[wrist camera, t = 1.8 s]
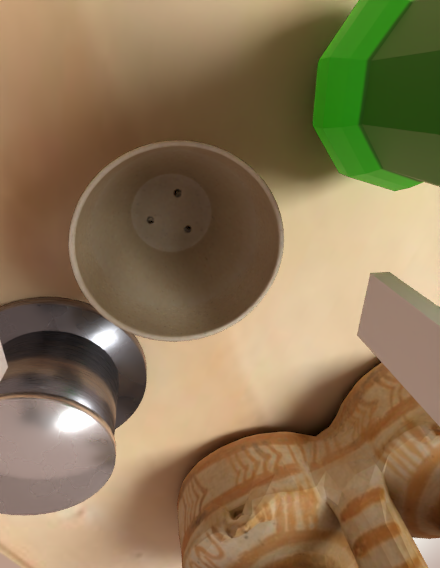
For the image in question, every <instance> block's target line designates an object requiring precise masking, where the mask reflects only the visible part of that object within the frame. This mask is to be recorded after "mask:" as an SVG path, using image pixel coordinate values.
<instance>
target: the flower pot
mask: <svg viewBox="0 0 440 568" xmlns="http://www.w3.org/2000/svg"><path fill="white" fill-rule="evenodd" d="M175 190H177V194H176V195H174V192H175ZM150 220H151V221H153V222H152V223H149V221H150ZM187 226H190V227H191V229H188V228H187ZM283 247H284V230H283V224H282V219H281V214H280V211H279V208H278V205H277V203H276V200H275V198H274V196H273V194H272V192H271V190H270V189H269V188H268V186H267V184H266V183H265V182H264V180H263V179H262V178H261V177H260V176H259V175H258V174H257V173H256V172H255V171H254V170H253V169H252V168H251V167H250V166H249V165H248V164H246V163H245V162H244V161H243V160H241V159H240V158H238V157H237V156H235V155H233V154H231V153H230V152H228V151H225V150H223V149H221V148H218V147H215V146H212V145H209V144H205V143H201V142H195V141H184V140H178V141H162V142H156V143H152V144H148V145H144V146H141V147H138V148H136V149H134V150H131V151H129V152H127V153H125V154H123V155H122V156H120V157H118V158H117V159H115V160H114V161H112V162H111V163H109V164H108V165H107V166H105V167H104V168H103V169H102V170H101V171H100V172H99V173H98V174H97V175H96V176H95V177H94V178H93V180H92V181H91V182H90V183H89V185H88V186H87V187H86V189H85V190H84V192H83V193H82V195H81V197H80V199H79V201H78V203H77V205H76V208H75V210H74V213H73V216H72V220H71V224H70V230H69V257H70V262H71V267H72V270H73V273H74V276H75V279H76V281H77V283H78V285H79V287H80V289H81V291H82V293H83V294H84V296H85V297H86V299H87V300H88V301H89V303H90V304H91V305H92V306H93V307H94V308H95V309H96V310H97V311H98V312H99V313H100V314H101V315H102V316H103V317H104V318H106V319H107V320H108V321H110V322H111V323H113V324H114V325H116V326H117V327H119V328H121V329H123V330H125V331H127V332H130V333H132V334H134V335H137V336H141V337H144V338H148V339H152V340H159V341H169V342H178V341H189V340H196V339H200V338H204V337H208V336H211V335H213V334H216V333H218V332H221V331H223V330H225V329H227V328H229V327H231V326H233V325H234V324H236V323H237V322H239V321H240V320H242V319H243V318H244V317H245V316H247V315H248V314H249V313H250V312H251V311H252V310H253V309H254V308H255V307H256V306H257V305H258V304H259V303H260V302H261V300H262V299H263V298H264V296H265V295H266V294H267V292H268V291H269V289H270V287H271V285H272V284H273V282H274V280H275V277H276V275H277V273H278V270H279V267H280V264H281V260H282V255H283Z"/></svg>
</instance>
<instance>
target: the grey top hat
mask: <svg viewBox="0 0 440 568" xmlns="http://www.w3.org/2000/svg"><path fill="white" fill-rule="evenodd" d="M0 341H1V345H2V348H3V351H4V355H5V358H6V362H7V365H8V368H7V370H6V372H5V374H4V376H3V378H2V379H1V381H0V513H1V514H9V515H38V514H46V513H51V512H56V511H60V510H63V509H66V508H69V507H72V506H74V505H77V504H79V503H81V502H83V501H85V500H86V499H88V498H90V497H91V496H92V495H94V494H95V493H96V492H98V491H99V490H100V489H101V488H102V487H103V486H104V485H105V483H106V482H107V481H108V479H109V478H110V476H111V474H112V472H113V469H114V465H115V458H116V442H115V438H114V432H115V429H116V428H118V427H119V426H120V425H122V424H123V423H124V422H125V421H127V420H128V418H129V417H130V416H131V415H132V414H133V413H134V412H135V410H136V409H137V408H138V406H139V404H140V402H141V400H142V398H143V395H144V392H145V388H146V360H145V355H144V353H143V350H142V347H141V345H140V343H139V342H138V340H137V338H136V337H135V336H134V334H132V333H130V332H127V331H125V330H123V329H121V328H119V327H117V326H116V325H114V324H113V323H111V322H110V321H108V320H107V319H106V318H104V317H103V316H102V315H101V314H100V313H99V312H98V311H97V310H96V309H95V308H94V307H93V306H92V305H91V304H88V303H84V302H81V301H77V300H72V299H67V298H57V297H38V298H30V299H24V300H20V301H15V302H12V303H9V304H6V305H4V306H1V307H0Z"/></svg>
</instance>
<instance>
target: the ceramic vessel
mask: <svg viewBox="0 0 440 568" xmlns="http://www.w3.org/2000/svg"><path fill="white" fill-rule="evenodd" d="M177 508H178V527H179V539H180V545H181V552H182V568H428V566H427V564H426V563H425V561H424V559H423V557H422V555H421V553H420V551H419V550H418V548H417V546H416V544H415V542H414V540H413V538H412V537H414V538H415V537H416V538H428V539H431V538H440V427H439V425H438V424H437V423H436V422H435V421H434V420H433V419H432V418H431V417H430V415H429V414H428V413H427V412H426V411H425V410H424V409H423V408H422V407H421V405H420V404H419V403H418V402H417V401H416V400H415V399H414V398H413V397H412V395H411V394H410V393H409V392H408V391H407V390H406V389H405V388H404V387H403V385H402V384H401V383H400V382H399V381H398V380H397V379H396V378H395V377H394V375H393V374H392V373H391V372H390V371H389V370H388V369H387V368H386V367H385V366H384V364H383V363H380V364H379V365H377V366H376V367H374V368H373V369H372V370H371V371H369V372H368V373H367V374H365V375H364V376H363V377H362V378H361V379H360V380H359V381H358V382H357V383H356V384H355V385H354V387H353V388H352V390H351V391H350V392H349V394H348V395H347V397H346V398H345V399H344V401H343V402H342V404H341V406H340V408H339V411H338V413H337V415H336V417H335V418H334V420H333V422H332V423H331V425H330V426H329V427H328V428H327V429H325V430H324V431H322V432H321V433H320V434H318V435H317V436H311V435H305V434H299V433H294V432H272V433H263V434H256V435H252V436H248V437H244V438H241V439H239V440H237V441H234V442H232V443H230V444H227V445H225V446H223V447H221V448H219V449H217V450H216V451H214V452H212V453H210V454H209V455H208V456H206V457H205V458H203V459H202V460H200V461H199V462H198V463H197V464H196V465H195V466H194V467H193V469H192V470H191V471H190V472H189V474H188V475H187V476H186V478H185V479H184V481H183V483H182V486H181V490H180V493H179V496H178V503H177Z"/></svg>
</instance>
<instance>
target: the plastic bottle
mask: <svg viewBox="0 0 440 568" xmlns="http://www.w3.org/2000/svg"><path fill="white" fill-rule="evenodd" d="M312 123H313V127H314V129H315V131H316V133H317V134H318V136H319V138H320V140H321V142H322V143H323V145H324V147H325V149H326V151H327V152H328V154H329V156H330V158H331V160H332V161H333V163H334V165H335V167H336V168H337V170H338V172H339V173H341V174H343V175H346V176H348V177H351V178H354V179H357V180H361V181H364V182H367V183H370V184H373V185H377V186H380V187H383V188H386V189H389V190H393V191H397V190H402V189H406V188H410V187H413V186H415V185H418V184H420V183H423V182H426V183H430V184H433V185H436V186H439V187H440V0H359V1H358V3H357V4H356V6H355V7H354V8H353V10H352V11H351V13H350V14H349V16H348V17H347V19H346V20H345V22H344V23H343V25H342V26H341V28H340V29H339V31H338V32H337V34H336V35H335V37H334V38H333V40H332V41H331V43H330V44H329V46H328V47H327V49H326V50H325V52H324V53H323V55H322V56H321V58H320V59H319V61H318V64H317V76H316V87H315V99H314V110H313V121H312Z"/></svg>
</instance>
